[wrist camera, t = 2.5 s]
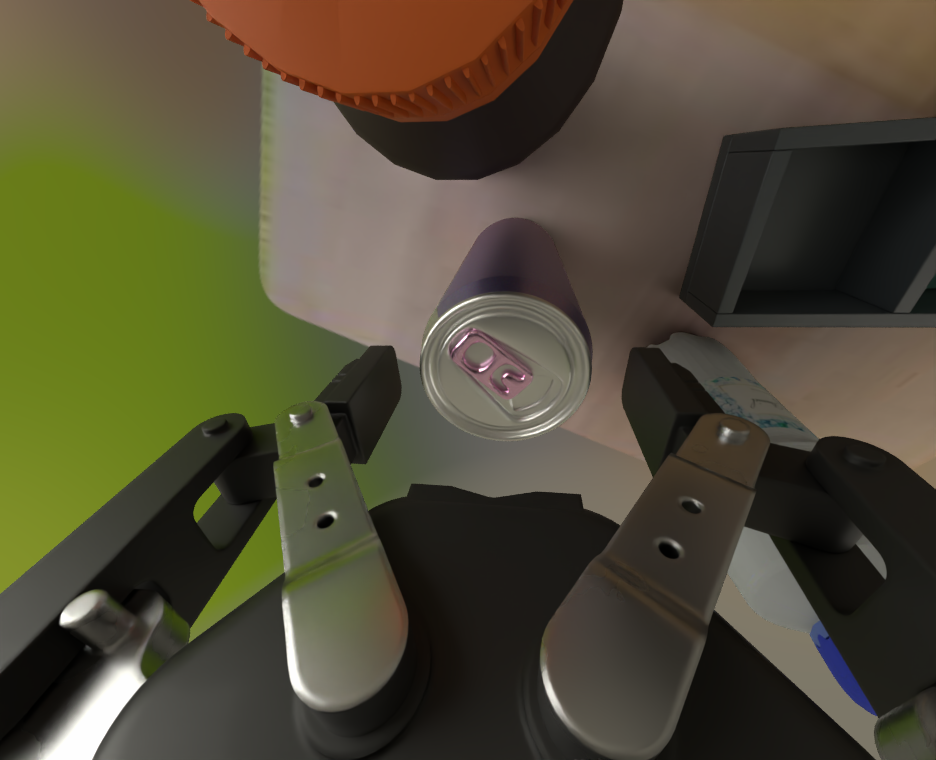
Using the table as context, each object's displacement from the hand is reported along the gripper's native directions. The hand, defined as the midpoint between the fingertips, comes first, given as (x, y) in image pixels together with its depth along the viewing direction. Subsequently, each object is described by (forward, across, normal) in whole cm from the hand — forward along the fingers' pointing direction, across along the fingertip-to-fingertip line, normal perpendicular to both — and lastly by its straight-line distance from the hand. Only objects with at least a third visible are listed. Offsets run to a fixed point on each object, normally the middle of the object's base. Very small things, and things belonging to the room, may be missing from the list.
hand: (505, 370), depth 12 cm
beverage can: (+14, 0, 0) cm, 14 cm away
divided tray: (+14, -20, -2) cm, 25 cm away
